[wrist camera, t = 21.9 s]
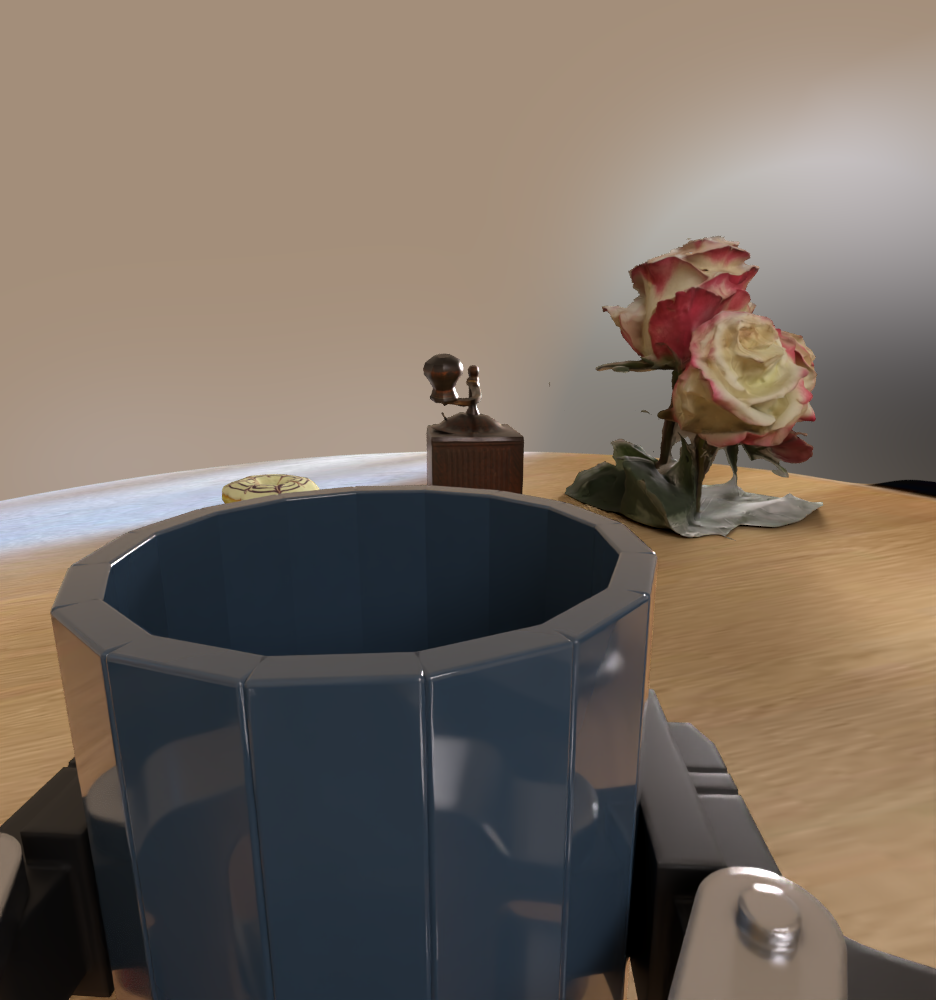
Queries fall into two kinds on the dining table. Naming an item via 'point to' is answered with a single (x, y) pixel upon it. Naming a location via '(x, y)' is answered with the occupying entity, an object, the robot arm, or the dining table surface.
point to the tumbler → (363, 745)
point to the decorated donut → (265, 487)
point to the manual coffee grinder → (469, 436)
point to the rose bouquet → (706, 396)
